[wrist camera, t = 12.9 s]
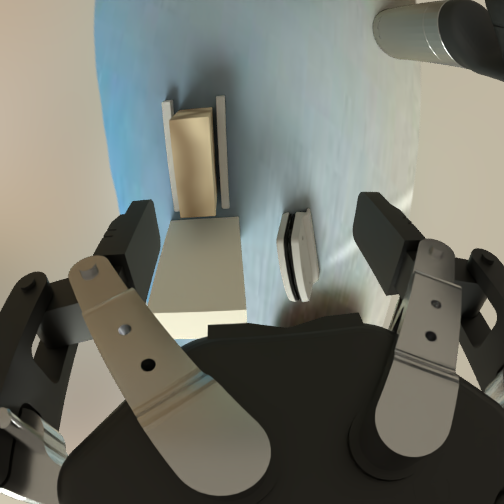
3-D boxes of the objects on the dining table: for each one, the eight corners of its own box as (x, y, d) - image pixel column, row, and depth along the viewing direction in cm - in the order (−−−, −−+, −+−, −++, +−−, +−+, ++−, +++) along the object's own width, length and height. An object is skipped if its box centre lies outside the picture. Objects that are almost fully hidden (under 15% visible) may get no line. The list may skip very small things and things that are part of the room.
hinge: (319, 275, 62) (314, 312, 54) (297, 276, 63) (289, 312, 56) (309, 206, 52) (302, 240, 45) (283, 208, 54) (272, 241, 46)
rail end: (212, 107, 41) (208, 116, 34) (217, 193, 50) (216, 219, 42) (179, 109, 41) (168, 120, 33) (188, 195, 49) (181, 221, 42)
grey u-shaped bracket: (234, 94, 40) (241, 120, 22) (239, 240, 55) (247, 336, 37) (155, 101, 39) (99, 135, 22) (174, 244, 55) (155, 339, 37)
